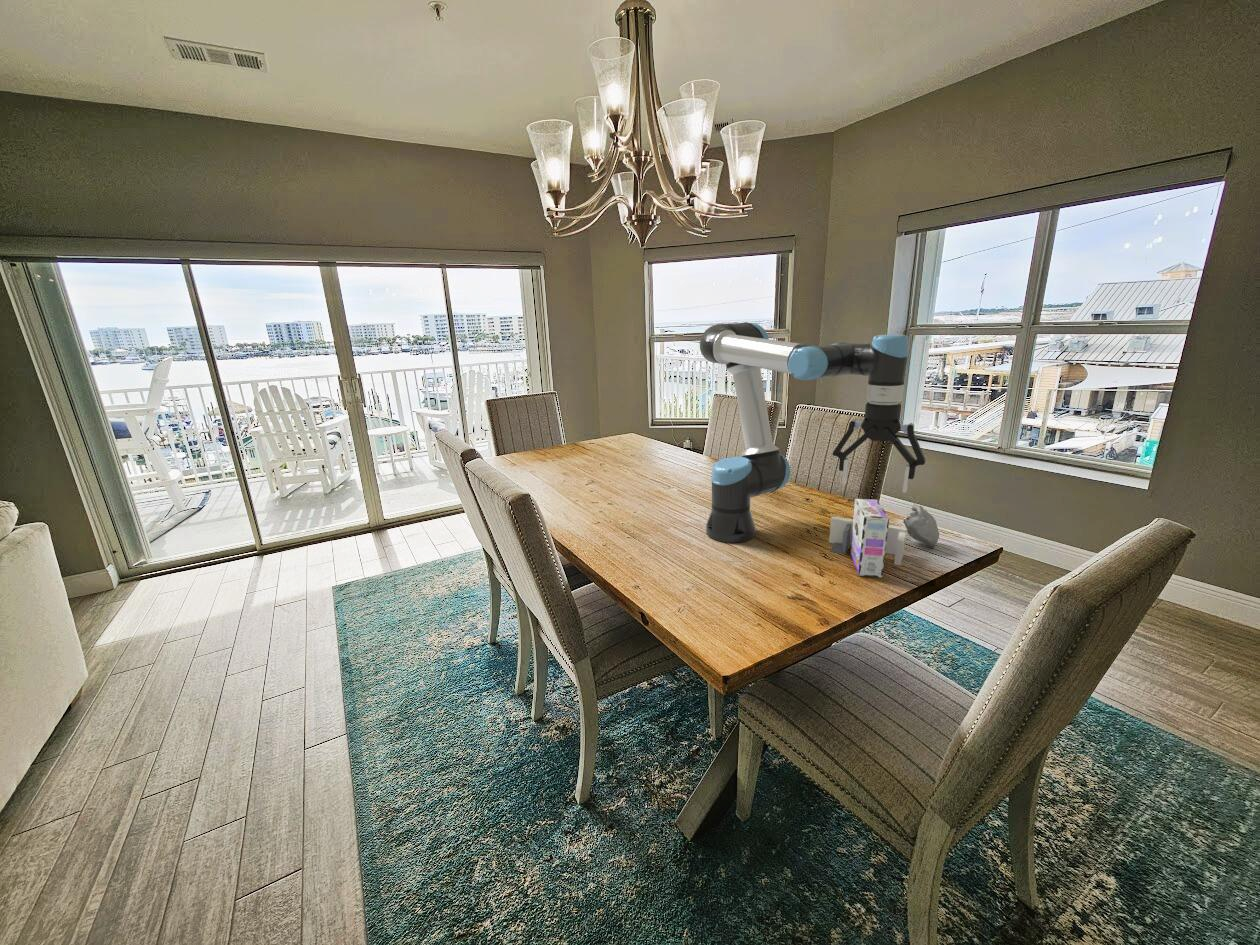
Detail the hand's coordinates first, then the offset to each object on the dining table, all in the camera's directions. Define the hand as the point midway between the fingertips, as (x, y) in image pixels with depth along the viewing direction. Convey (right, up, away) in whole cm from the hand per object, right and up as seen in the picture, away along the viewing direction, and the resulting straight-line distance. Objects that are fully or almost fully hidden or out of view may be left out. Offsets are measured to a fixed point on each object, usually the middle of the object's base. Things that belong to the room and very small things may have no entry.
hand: (873, 487), depth 120 cm
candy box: (+1, -21, +7) cm, 22 cm away
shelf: (+4, -19, +14) cm, 24 cm away
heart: (+22, -17, +16) cm, 32 cm away
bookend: (-1, -18, +17) cm, 25 cm away
